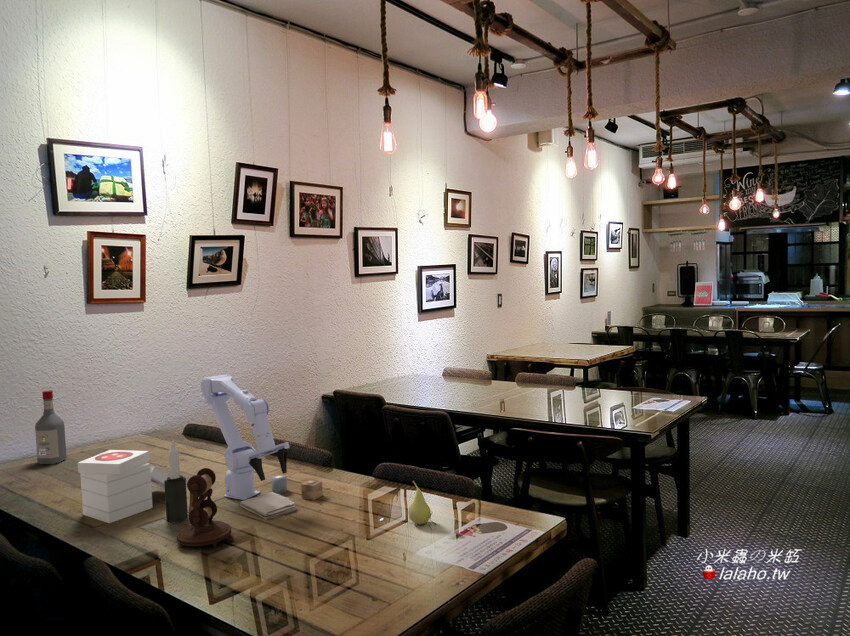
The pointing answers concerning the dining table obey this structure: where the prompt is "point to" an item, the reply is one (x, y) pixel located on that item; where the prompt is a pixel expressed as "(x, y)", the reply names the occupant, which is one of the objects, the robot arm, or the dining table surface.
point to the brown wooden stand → (202, 513)
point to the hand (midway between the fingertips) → (274, 476)
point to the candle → (175, 490)
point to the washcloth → (269, 505)
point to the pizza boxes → (118, 484)
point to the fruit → (419, 509)
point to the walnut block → (311, 489)
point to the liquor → (50, 434)
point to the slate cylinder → (279, 484)
